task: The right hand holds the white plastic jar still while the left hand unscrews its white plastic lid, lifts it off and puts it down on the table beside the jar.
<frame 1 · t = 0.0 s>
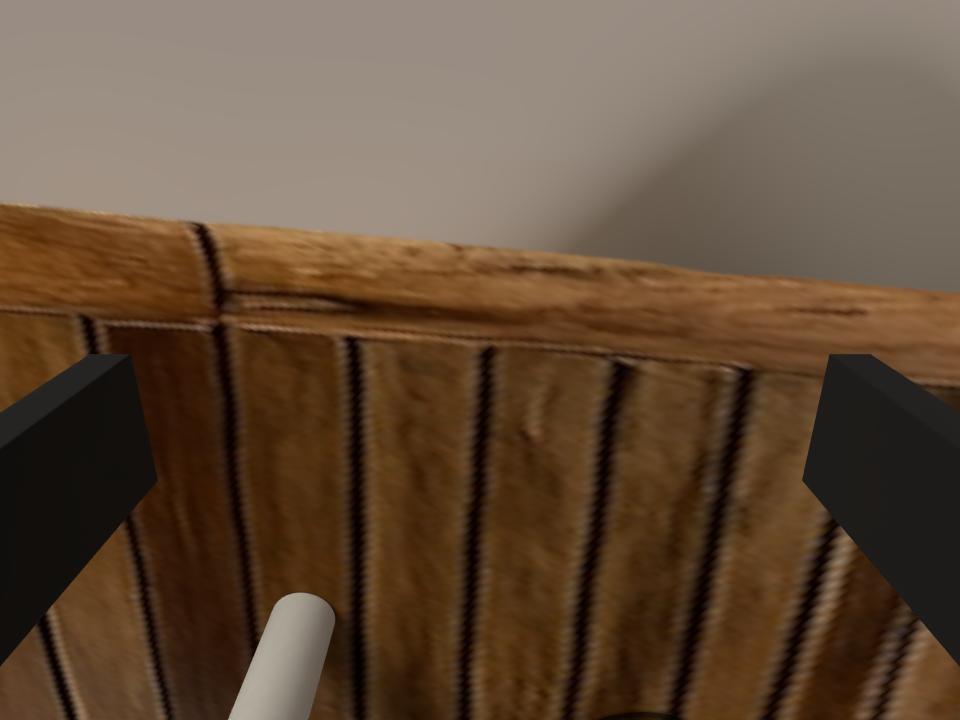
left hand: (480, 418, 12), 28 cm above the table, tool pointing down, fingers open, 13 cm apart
jar: (304, 617, 50), on the table
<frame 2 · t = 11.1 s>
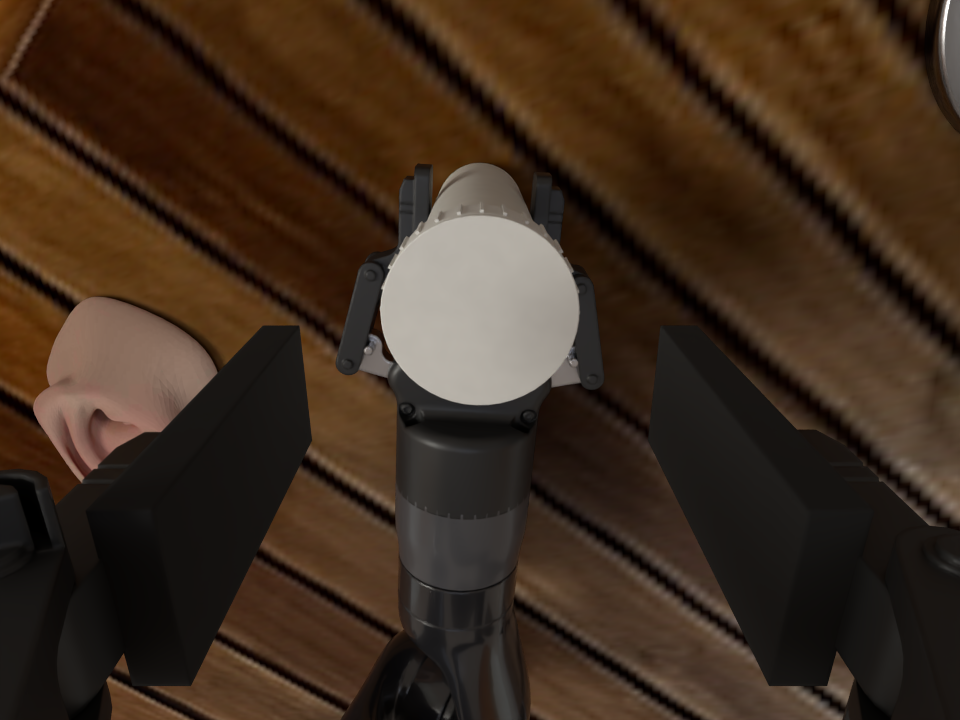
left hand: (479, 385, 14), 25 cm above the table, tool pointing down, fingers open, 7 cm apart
right hand: (482, 171, 30), fingers closed on jar, 5 cm apart
lid: (480, 312, 19), point 20 cm above the table, screwed on, not yet turned
jar: (479, 206, 37), on the table, touching right hand
anatomical model: (143, 399, 42), on the table
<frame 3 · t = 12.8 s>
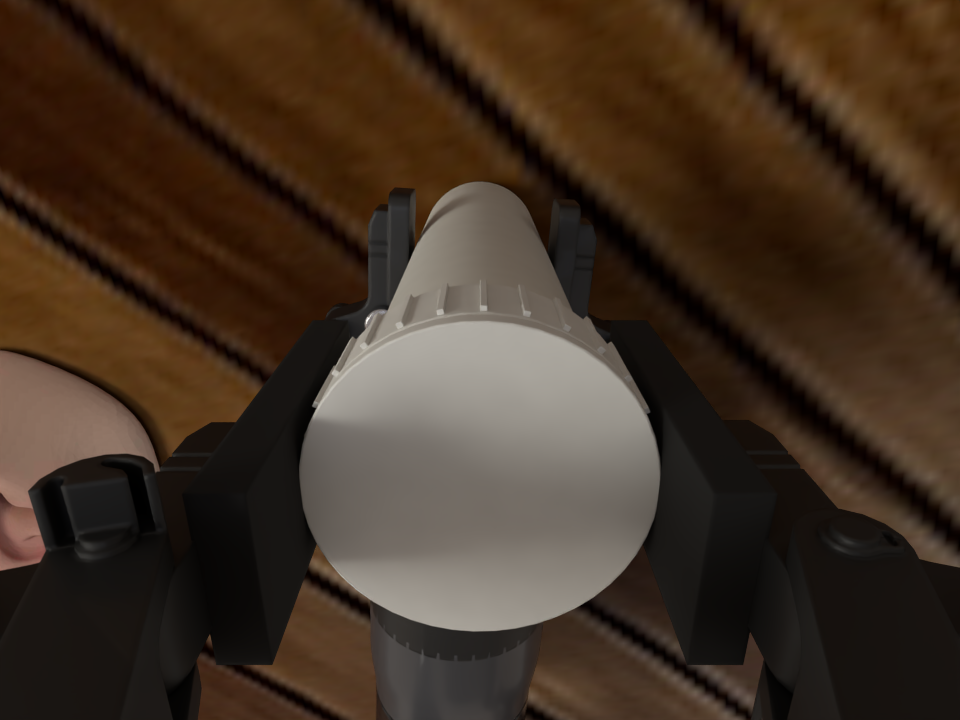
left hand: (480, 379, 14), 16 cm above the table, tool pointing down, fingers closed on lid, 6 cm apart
lid: (480, 480, 10), point 20 cm above the table, screwed on, not yet turned, touching left hand
jar: (479, 237, 29), on the table, touching right hand
anatomical model: (60, 473, 33), on the table
when the left hand's fingers open (0 cm above the table, at t = 32.6 s): lid drops 1 cm, point 2 cm above the table.
when the right hand's fingers open (7 cm above the table, at t = 33.3 s): jar stays where it is, on the table.
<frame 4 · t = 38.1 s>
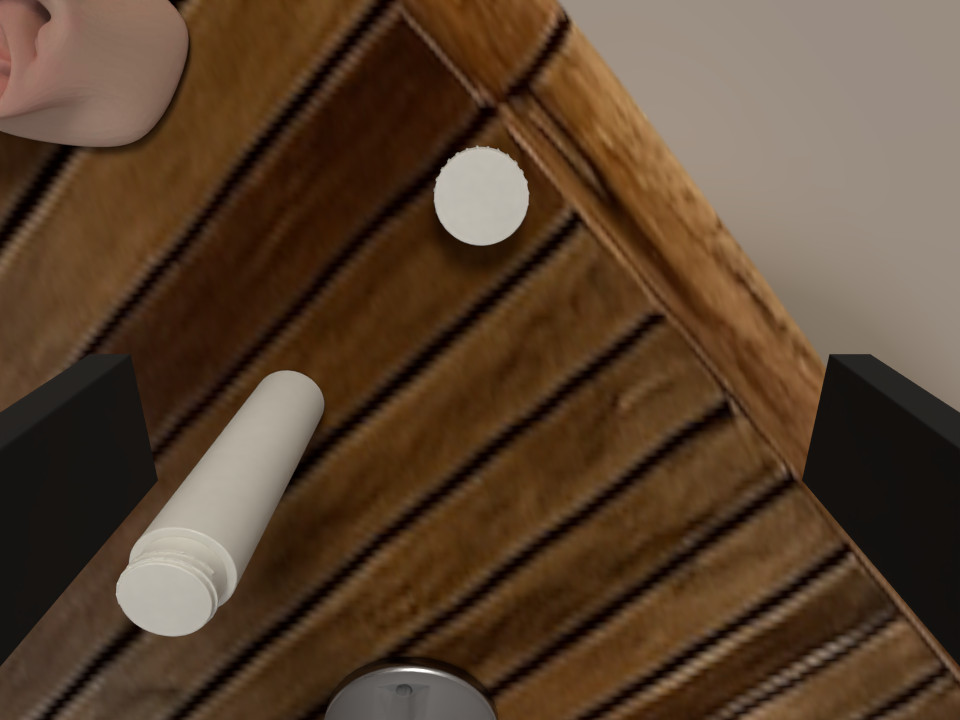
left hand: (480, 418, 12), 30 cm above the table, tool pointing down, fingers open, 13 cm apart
lid: (481, 197, 39), point 2 cm above the table, off its thread
jar: (290, 401, 46), on the table
anatomical model: (71, 49, 37), on the table
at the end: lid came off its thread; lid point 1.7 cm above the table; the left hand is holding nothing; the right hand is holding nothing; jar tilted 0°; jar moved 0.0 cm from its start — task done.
